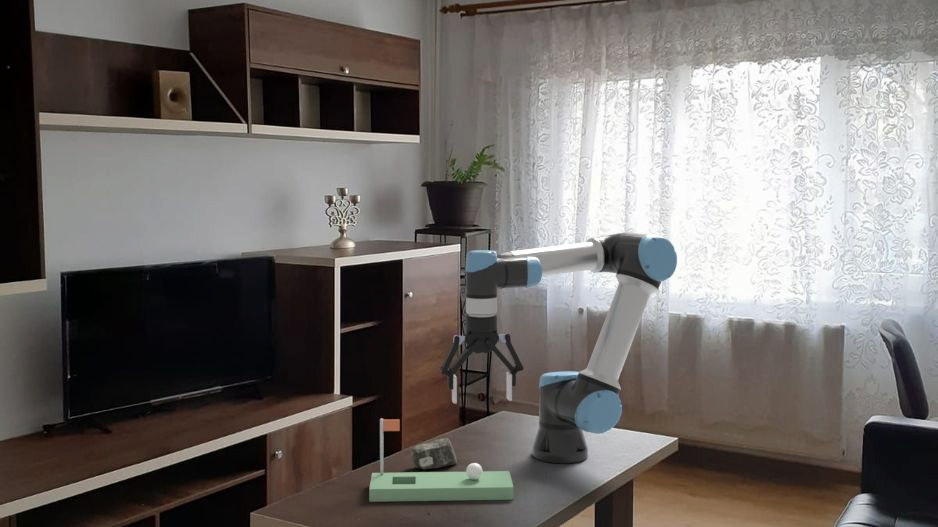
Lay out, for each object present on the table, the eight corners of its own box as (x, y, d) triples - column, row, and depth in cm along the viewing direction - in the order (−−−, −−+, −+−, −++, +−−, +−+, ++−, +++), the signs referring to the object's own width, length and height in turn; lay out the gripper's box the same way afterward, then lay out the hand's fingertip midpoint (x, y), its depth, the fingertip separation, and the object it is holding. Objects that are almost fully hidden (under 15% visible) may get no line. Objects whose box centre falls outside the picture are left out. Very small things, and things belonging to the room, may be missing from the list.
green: (509, 482, 232) (509, 416, 230) (513, 499, 220) (514, 429, 218) (372, 484, 230) (371, 417, 229) (369, 501, 218) (368, 430, 217)
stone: (434, 488, 239) (416, 457, 237) (419, 486, 245) (402, 454, 243) (471, 456, 247) (454, 425, 245) (456, 454, 253) (439, 424, 250)
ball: (482, 476, 227) (482, 460, 227) (483, 482, 223) (483, 465, 223) (465, 476, 227) (465, 460, 227) (466, 482, 223) (466, 466, 223)
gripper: (527, 310, 230) (527, 394, 232) (428, 313, 226) (429, 399, 228) (535, 315, 223) (535, 401, 225) (432, 318, 218) (433, 407, 221)
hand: (481, 400), depth 226 cm, fingers open, 13 cm apart
